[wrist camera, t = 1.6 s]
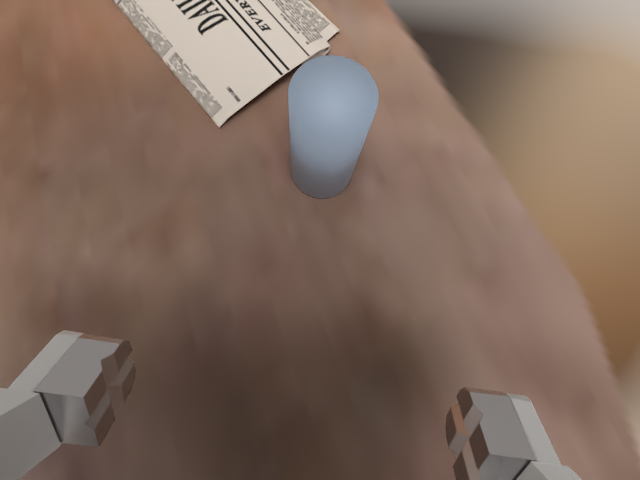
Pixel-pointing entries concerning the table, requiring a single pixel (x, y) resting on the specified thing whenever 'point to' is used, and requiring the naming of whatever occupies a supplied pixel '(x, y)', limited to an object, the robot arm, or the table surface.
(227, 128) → the table surface
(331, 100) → the blue peg
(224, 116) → the newspaper
